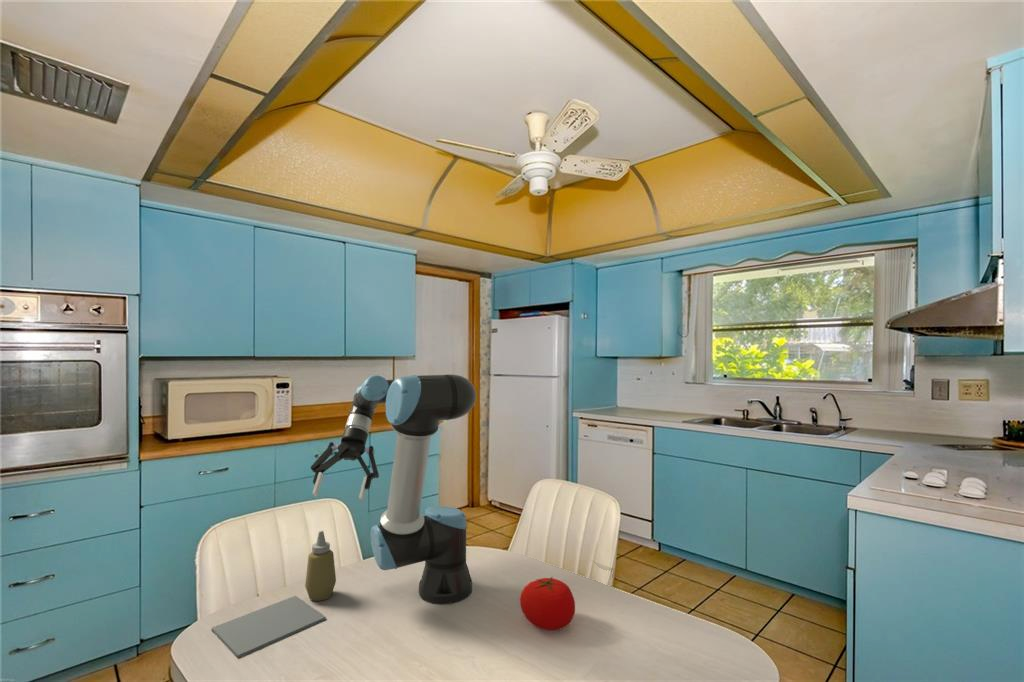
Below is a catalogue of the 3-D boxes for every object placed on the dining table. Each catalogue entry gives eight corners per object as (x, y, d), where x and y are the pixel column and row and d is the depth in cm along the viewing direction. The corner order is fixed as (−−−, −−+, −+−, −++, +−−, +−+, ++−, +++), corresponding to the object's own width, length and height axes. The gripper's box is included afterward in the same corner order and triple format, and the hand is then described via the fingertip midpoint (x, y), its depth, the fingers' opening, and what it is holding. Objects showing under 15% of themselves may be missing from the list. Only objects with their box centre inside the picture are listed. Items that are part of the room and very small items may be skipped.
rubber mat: (325, 619, 127) (325, 616, 127) (237, 658, 111) (237, 655, 111) (295, 597, 138) (295, 595, 138) (211, 630, 122) (211, 627, 122)
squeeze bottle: (342, 591, 141) (342, 528, 141) (322, 605, 134) (323, 538, 134) (318, 587, 144) (319, 525, 144) (298, 600, 136) (298, 535, 136)
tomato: (586, 623, 125) (586, 582, 125) (554, 646, 116) (554, 601, 116) (542, 603, 135) (542, 565, 135) (510, 623, 126) (510, 581, 126)
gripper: (396, 440, 161) (382, 505, 149) (320, 433, 161) (299, 497, 149) (393, 429, 155) (378, 496, 143) (314, 422, 155) (291, 488, 143)
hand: (337, 497), depth 146 cm, fingers open, 13 cm apart
